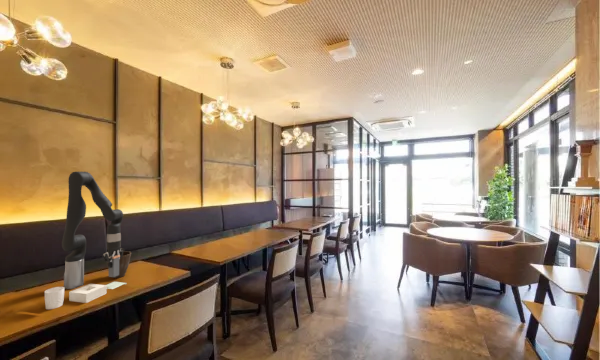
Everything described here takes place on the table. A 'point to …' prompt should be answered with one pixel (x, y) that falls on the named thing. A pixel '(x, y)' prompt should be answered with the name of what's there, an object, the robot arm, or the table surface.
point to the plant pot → (123, 264)
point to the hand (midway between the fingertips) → (113, 266)
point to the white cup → (54, 297)
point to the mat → (114, 285)
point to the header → (87, 293)
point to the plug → (114, 266)
